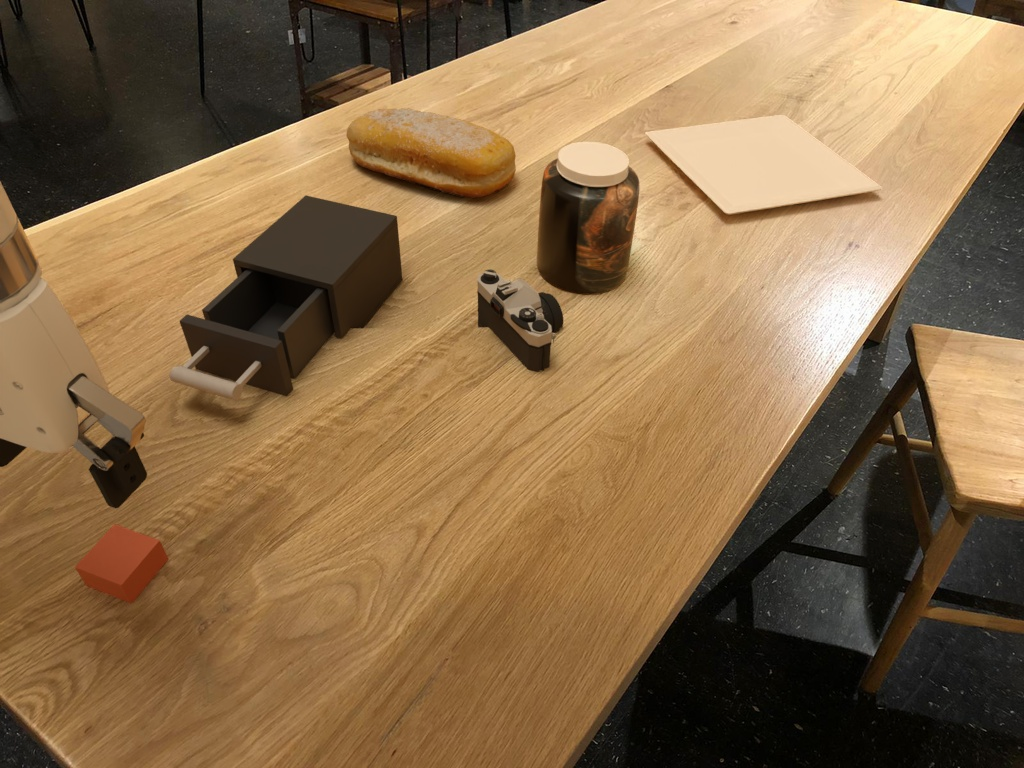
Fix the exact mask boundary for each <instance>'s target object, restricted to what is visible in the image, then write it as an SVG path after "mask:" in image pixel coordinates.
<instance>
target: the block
mask: <svg viewBox="0 0 1024 768" xmlns="http://www.w3.org/2000/svg"><path fill="white" fill-rule="evenodd" d="M167 561H169V557H168V555H167V552H166V551H165V549H164V546H163V545H162V543H161V540H160V539H156V538H154V537H151V536H149V535H146V534H143V533H140V532H138V531H135V530H132V529H130V528H127V527H125V526H122V525H119V524H116V523H115V524H113V525H112V526H111V527H110V528H109V529H108V531H107V532H106V533H105V534H104V535H103V536H102V537H101V538H100V539H99V540H98V542H96V544H94V546H93V547H92V548H91V549H90V550H89V551H88V552H87V553H86V554H85V555H84V556H83V557H82V559H81V560H80V561H79V562H78V563H77V564H76V565H75V566H74V569H75V571H76V572H77V573H78V575H79V576H80V578H81V579H82V581H83V582H84V584H85V586H86V587H89V588H91V589H94V590H96V591H99V592H102V593H103V594H106V595H109V596H111V597H114V598H117V599H119V600H121V601H124V602H127V603H128V604H133V603H134V602H135V600H136V599H137V598H138V597H139V596H140V595H141V593H142V592H143V591H144V589H145V588H146V587H147V586H148V585H149V583H151V581H152V580H153V579H154V577H155V576H157V574H158V573H159V571H160V570H161V569H162V568H163V567H164V565H166V563H167Z"/></svg>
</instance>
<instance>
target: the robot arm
mask: <svg viewBox="0 0 1024 768" xmlns="http://www.w3.org/2000/svg"><path fill="white" fill-rule="evenodd" d="M39 261H40V260H39V259H38V257H37V255H36V253H35V250H34V248H33V246H32V244H31V243H30V240H29V237H28V236H27V234H26V232H25V230H24V228H23V225H22V223H21V221H20V219H19V217H18V215H17V213H16V211H15V208H14V207H13V205H12V202H11V200H10V198H9V196H8V194H7V192H6V190H5V188H4V185H3V184H2V182H1V180H0V468H3V467H6V466H8V465H9V464H10V463H11V462H12V461H13V460H15V458H17V457H18V456H19V455H21V453H23V452H24V451H25V450H26V449H31V450H35V451H37V452H42V453H46V454H64V453H66V452H67V451H69V449H70V448H71V447H73V448H74V449H75V450H76V451H77V452H79V453H80V454H81V455H82V456H83V457H85V458H86V459H87V460H88V461H89V462H90V463H91V465H90V466H89V468H88V471H89V473H90V475H91V477H92V479H93V480H94V482H95V484H96V486H97V488H98V490H99V492H100V494H101V495H102V497H103V499H104V501H105V502H106V505H107V506H108V507H111V508H112V509H119V508H120V507H121V506H122V505H123V504H124V503H125V502H126V501H127V500H128V498H129V497H131V496H132V494H133V493H135V492H136V491H137V490H138V489H139V488H140V487H141V485H142V484H143V483H144V482H145V481H146V479H147V477H148V472H147V470H146V467H145V465H144V463H143V461H142V459H141V457H140V455H139V452H138V450H137V448H136V446H137V444H138V443H140V441H141V440H142V439H143V438H144V437H145V433H144V430H145V426H146V422H147V419H146V416H145V415H144V414H143V413H142V412H140V411H139V410H138V409H135V408H134V407H132V406H131V405H129V404H128V403H126V402H125V401H123V400H122V399H120V398H119V397H118V396H116V395H114V394H113V393H111V392H110V389H109V386H108V384H107V382H106V379H105V377H104V375H103V372H102V370H101V369H100V366H99V365H98V362H97V360H96V358H95V356H94V355H93V353H92V351H91V349H90V348H89V346H88V344H87V342H86V340H85V338H84V336H83V335H82V333H81V331H80V330H79V328H78V326H77V325H76V323H75V321H74V320H73V318H72V316H71V315H70V314H69V311H67V309H66V307H65V306H64V305H63V303H62V301H61V300H60V299H59V297H58V296H57V294H56V293H55V292H54V290H53V289H52V287H51V286H50V284H49V283H48V281H47V280H46V279H44V278H43V277H42V274H43V272H42V266H41V264H40V262H39ZM78 408H80V409H82V410H84V411H85V412H86V413H88V414H86V415H85V416H84V417H83V418H82V419H81V420H80V421H79V414H78V413H79V411H78ZM96 423H99V424H100V425H101V426H102V427H103V428H104V429H105V430H107V432H109V433H110V434H111V435H112V437H111V438H110V439H109V440H108V441H107V442H106V443H105V444H104V445H103V446H102V447H101V448H100V447H99V446H98V445H97V444H96V443H95V442H94V441H92V440H91V439H90V438H89V437H88V436H87V435H86V434H85V433H86V432H87V431H89V430H90V429H91V428H92V427H93V426H94V425H95V424H96Z"/></svg>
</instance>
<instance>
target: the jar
mask: <svg viewBox="0 0 1024 768" xmlns="http://www.w3.org/2000/svg"><path fill="white" fill-rule="evenodd" d="M639 198H640V179H639V176H638V173H636V171H635V170H634V169H633V167H630V159H629V156H628V155H627V153H625V152H624V151H623V150H622V149H619V148H618V147H616V146H613V145H611V144H607V143H604V142H600V141H599V142H598V141H577V142H572V143H568V144H566V145H565V146H562V148H560V149H559V151H558V153H557V158H555V159H553V160H552V161H550V162H549V163H548V164H547V165H546V167H545V169H544V171H543V175H542V179H541V189H540V200H539V202H540V203H539V211H538V212H539V213H538V228H537V244H536V245H537V247H536V248H537V249H536V267H537V270H538V273H539V275H540V276H541V277H542V278H543V279H544V280H545V281H546V282H548V283H549V284H550V285H552V286H553V287H556V288H559V289H560V290H564V291H566V292H569V293H575V294H581V295H594V294H595V295H597V294H602V293H606V292H610V291H612V290H614V289H617V288H618V287H619V286H620V285H622V284H623V282H624V281H625V280H626V278H627V275H628V270H629V265H630V259H631V253H632V246H633V241H634V234H635V226H636V222H637V215H638V214H637V212H638V206H639Z"/></svg>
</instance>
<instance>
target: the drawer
mask: <svg viewBox="0 0 1024 768" xmlns="http://www.w3.org/2000/svg"><path fill="white" fill-rule="evenodd" d="M201 312H202V315H203V318H202V317H198V316H194V315H190V314H185V316H183V317H182V318H181V319H179V324H180V327H181V330H182V333H183V336H184V339H185V342H186V345H187V347H188V350H189V353H190V356H191V357H190V358H189V359H188V360H187V361H186V362H185V363H184V364H183V365H181V366H180V365H174V366H173V367H172V368H171V369H170V371H169V379H170V381H171V382H173V383H176V384H180V385H182V386H187V387H189V388H193V389H195V390H199V391H202V392H206V393H209V394H213V395H216V396H219V397H222V398H224V399H229V400H232V401H238V400H239V399H240V398H241V397H242V395H243V391H244V390H243V387H244V386H245V385H247V386H250V387H253V388H257V389H260V390H263V391H267V392H270V393H273V394H277V395H281V396H284V397H288V396H289V395H290V394H291V393H292V392H293V391H294V387H293V382H292V379H294V380H295V379H296V378H297V377H298V376H299V374H300V373H301V372H302V371H304V369H305V368H306V367H307V366H308V364H309V363H310V362H311V361H312V359H313V358H314V357H315V356H316V355H317V354H318V353H319V352H320V350H321V349H322V348H323V347H324V346H325V344H327V342H328V341H329V340H330V339H331V337H332V336H333V335H335V331H334V325H333V319H332V313H331V308H330V302H329V296H328V290H327V289H326V288H322V287H318V286H314V285H310V284H306V283H302V282H298V281H294V280H291V279H287V278H283V277H279V276H275V275H271V274H267V273H263V272H259V271H256V270H252V269H248V268H247V269H246V270H245V271H244V272H243V273H242V274H241V275H240V276H239V277H237V276H236V278H234V280H233V281H232V282H231V283H230V284H229V285H227V286H226V287H225V288H224V289H223V290H222V291H220V293H219V294H218V295H216V296H215V297H214V298H213V299H212V300H211V301H210V302H208V304H206V305H205V306H204V307H203V308H202V309H201ZM193 368H195V370H194V369H193ZM217 376H218V377H217ZM227 379H228V380H227Z"/></svg>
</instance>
